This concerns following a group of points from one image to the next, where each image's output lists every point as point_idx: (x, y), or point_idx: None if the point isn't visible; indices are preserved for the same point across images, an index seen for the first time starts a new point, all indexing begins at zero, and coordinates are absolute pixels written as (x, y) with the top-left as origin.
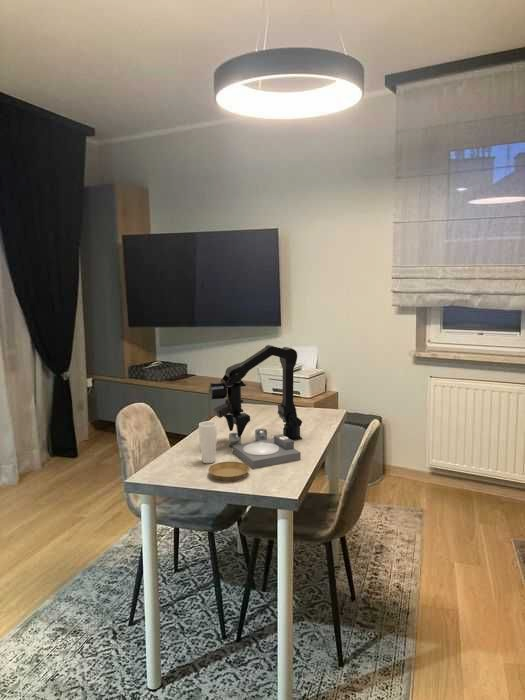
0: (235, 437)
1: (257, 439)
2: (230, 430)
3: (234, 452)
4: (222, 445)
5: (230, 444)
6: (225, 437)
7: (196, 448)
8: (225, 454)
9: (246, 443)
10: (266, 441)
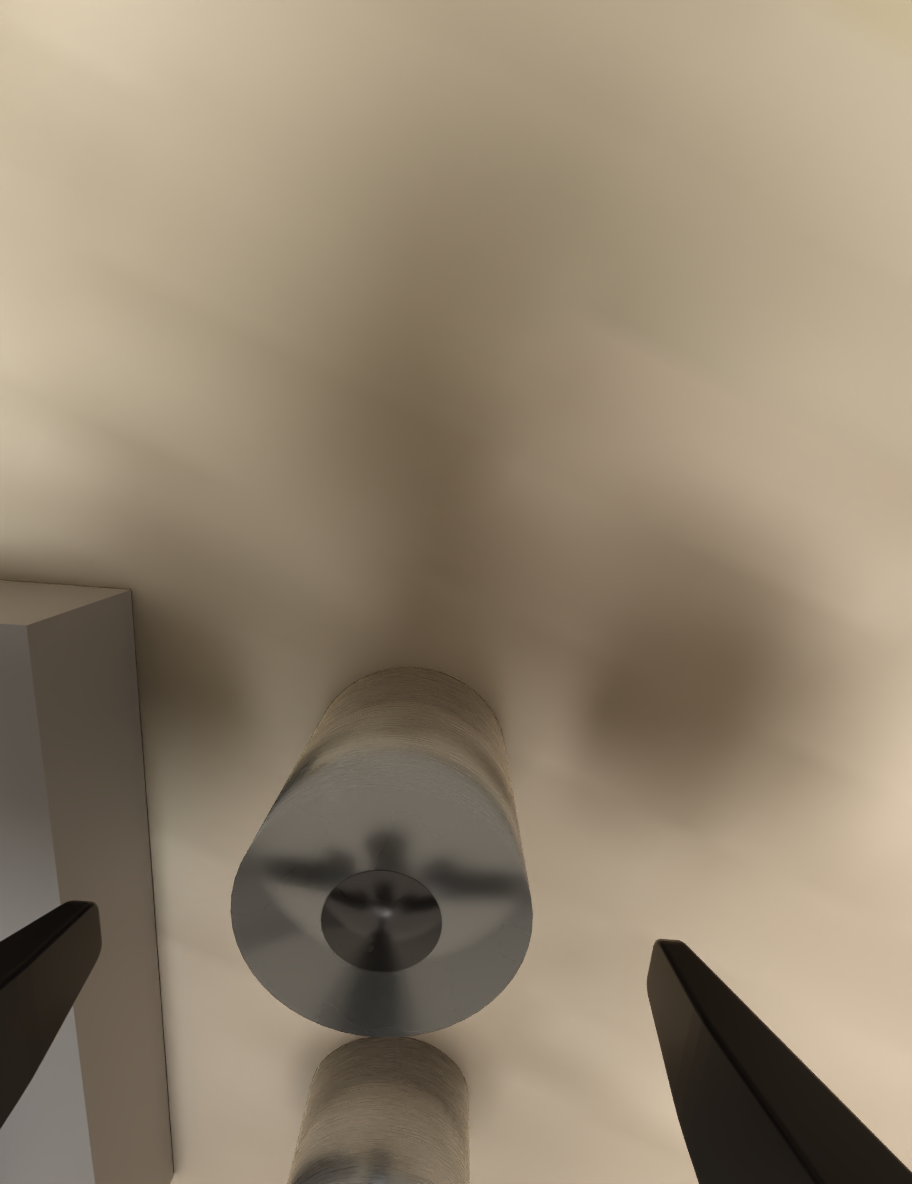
0: (249, 849)
1: (343, 1105)
2: (658, 958)
3: (32, 588)
4: (546, 600)
5: (379, 690)
6: (873, 808)
7: (689, 65)
8: (90, 441)
9: (31, 890)
10: (6, 1166)
